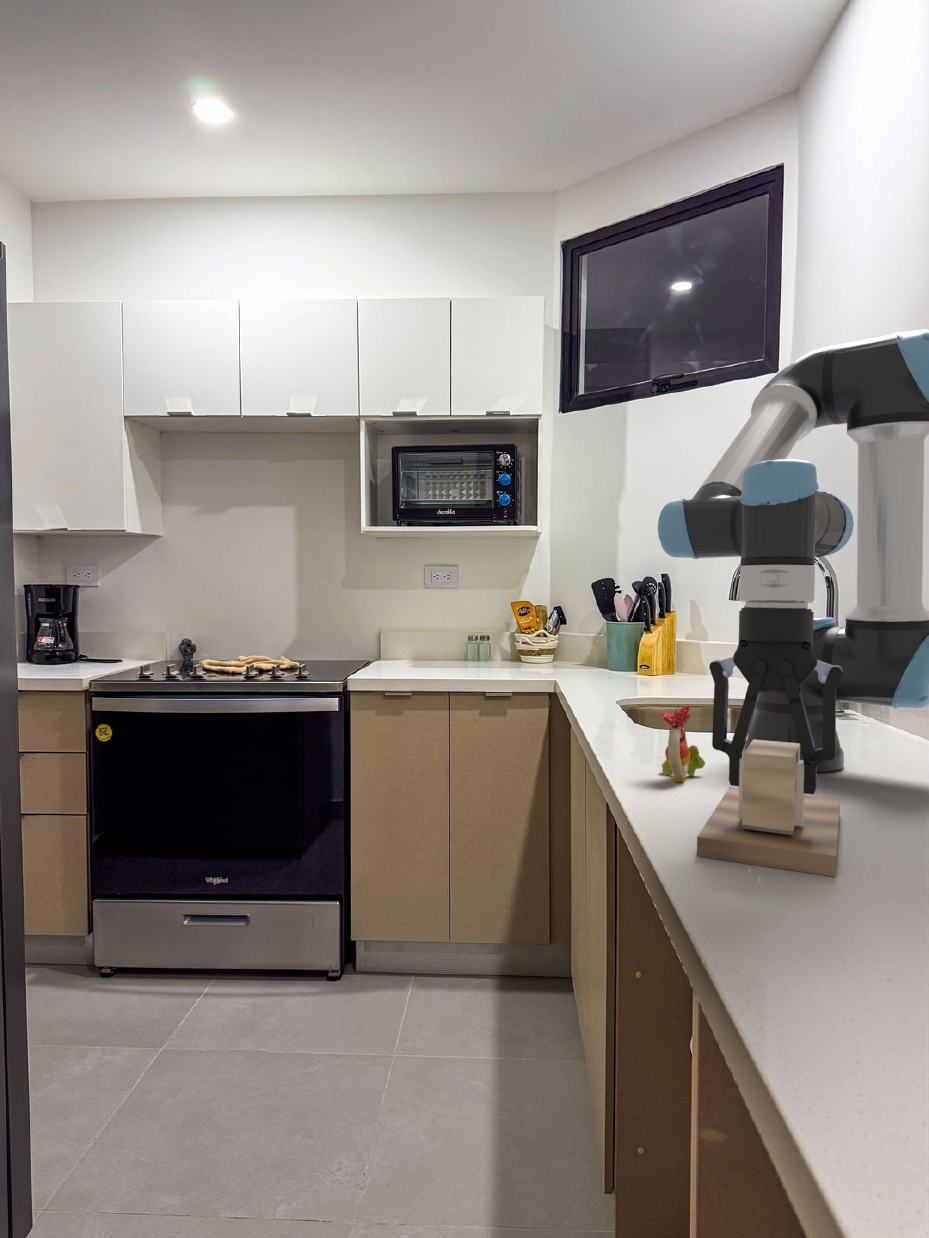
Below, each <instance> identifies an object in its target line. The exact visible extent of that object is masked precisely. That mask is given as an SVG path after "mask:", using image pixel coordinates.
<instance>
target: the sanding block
mask: <svg viewBox="0 0 929 1238" xmlns="http://www.w3.org/2000/svg"><path fill="white" fill-rule="evenodd" d="M742 755H743V795H742V828H743V829H750V830H758V831H765V832H773V833H781V834H788V835H793V833H794V829H795V803H796V764H797V762H798V760H800V743H789V742H777V741H765V740H753V741H752V742H751V743H750V745H749V746H748V747H747V749H746V750H745V751H744V753H743V752H742Z"/></svg>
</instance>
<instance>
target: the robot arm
mask: <svg viewBox="0 0 929 1238" xmlns="http://www.w3.org/2000/svg"><path fill="white" fill-rule="evenodd" d="M750 409H751V410H750V417H749V418H748V420H747V421H746V422H745V424H744V426H743V427H742V428H741V429H740V431H739V432H738V433H737V435H736V437H735V438H734V439H733V441H732V442H731V444H730V445H729V446H728V448H727V449H726V450H725V452H724V453H723V455H722V456H721V457H720V459H719V460H718V462H717V463H716V464H715V466H713V469H711V472H710V473H709V474H708V476H707V477H706V479H705V480H704V482H703V483H702V485H701V486H700V487H699V489H698V490H697V492H695V494H694V495H693V497H692V498H691V499H685V498H681V499H680V500H674V501H670V502H668V503H666V504H665V505H664V506H663V508H662V509H661V511H660V512H659V517H658V522H657V534H658V535H657V536H658V540H659V542H660V546H661V549H662V550H663V551H664V553H666V554H667V555H668V556H669V557H672V558H681V559H683V558H685V559H691V558H692V559H694V560H698V559H709V558H735V557H736V558H737V557H740V562H739V563H740V568H739V569H740V570H739V572H740V573H739V574H740V575H739V599H738V600H739V601H740V602H742V603H744V604H745V605H744V604H743V605H744V607H741V609H740V610H739V611H738V645H737V648H736V650H735V651H734V653H733V656H732V657H728V658H725V659H722V660H721V659H715V660H714V661H712V662H710V664H709V666H708V669H709V670H710V675H711V677H712V680H713V683H714V686H713V687H714V688H713V711H712V713H713V714H712V717H713V718H712V734H711V735H712V737H711V739H712V740H711V747H712V748H713V749H714V750H715V751H719V752H722V753H725V754H726V755H727V756H728V759H729V760H728V762H729V763H728V782H729V784H730V785H729V786H730V787H732V786H734V787H738V788H739V809H738V818H740V819H742V795H743V753H744V751H745V750H746V749H747V747H748V746H749V745H750V743H751V742H752V741H753V740H765V741H777V742H789V743H800V760H798V762H797V764H796V803H795V826H803V822H804V800H805V795H814V794H815V792H816V790H817V775H818V774H817V773H821V772H822V773H823V772H825V773H826V772H827V773H828V772H834V771H838V770H841V769H844V765H845V764H844V763H845V753H844V750H843V748H842V747H841V744H840V740H839V735H838V732H837V702H839V703H850V704H851V703H852V704H864V705H872V706H873V705H874V706H883V707H885V706H886V707H892V708H893V709H899V708H905V709H906V708H907V709H909V708H910V709H921V708H925V707H927V706H929V610H928V609H926V607H924V604H923V572H924V571H923V567H924V565H923V563H924V562H923V561H924V560H923V559H924V554H923V553H924V549H923V548H924V500H925V499H924V498H925V497H924V494H925V493H924V491H925V489H924V487H925V485H924V484H925V481H924V480H925V440H926V438H927V436H928V435H929V330H928V329H920V330H919V329H918V330H910V331H905V332H903V331H902V332H901V331H897V332H895V333H892V334H887V335H881V336H878V337H877V336H875V337H872V338H867V339H861V340H857V341H853V342H848V343H843V344H842V343H841V344H838V345H829V346H826V347H825V346H824V347H821V348H818V349H815V350H812V351H811V352H809V353H807V354H804V355H802V356H801V357H799V358H798V359H796V360H794V361H793V362H791V363H790V364H788V365H787V366H786V367H784V368H783V369H781V370H780V372H777V374H776V375H774V376H773V377H772V378H771V379H770V380H769V381H768V382H767V383H766V384H765V385H764V387H763V388H762V389H761V390H760V391H759V392H758V394H757V395H756V397H755V398H754V399H753V402H752V405H751V408H750ZM842 424H843V425H844V424H846V435H847V436H848V437H849V438H851V440H852V441H854V442H855V443H856V445H857V526H856V527H857V529H856V530H857V536H856V539H857V540H856V543H857V544H856V546H857V552H856V554H857V556H856V557H857V558H856V560H857V561H856V563H857V564H856V572H857V573H856V605H855V607H854V608H853V609H852V610H850V611H849V613H847V614H846V616H845V626H837V622H836V620H835V618H834V617H829V616H828V617H818V618H814V611H812V608H808V606H809V605H808V604H812V603H813V602H814V600H815V577H816V576H815V573H816V566H815V565H816V564H815V559H816V558H822V557H826V556H831V555H833V554H835V553H837V552H839V551H840V550H842V548H844V547H845V546H846V545H847V544H848V542H849V541H850V539H851V537H852V534H853V530H854V525H855V523H854V517H853V514H852V511H851V509H850V507H848V505H847V504H846V503H845V502H844V501H842V500H841V499H840V498H839V497H837V496H835V495H833V493H828V492H826V491H820V490H819V488H820V486H819V483H818V479H817V477H818V476H817V475H818V474H817V468H816V466H815V464H813V463H812V462H810V461H808V460H804V459H788V456H789V455H790V453H791V451H792V449H794V446H795V445H796V443H797V442H798V441H801V440H803V439H804V438H805V437H808V435H809V434H810V433H811V432H812V431H813V430H814V429H817V428H821V427H826V426H832V425H842ZM734 667H737V669H738V671H739V672H740V673H741V674H742V676H743V677H744V678H745V680H746V681H747V683H748V686H747V689H746V692H745V697H744V701H743V704H742V707H741V709H740V710H741V711H740V713H739V717H738V720H737V723H736V726H735V730H734V734H733V737H732V738H731V739H732V741H731V740H730V739H728V717H729V715H728V714H729V713H728V711H729V689H730V688H729V684H730V683H729V678H731V677H732V676H733V673H734V671H733V670H734Z"/></svg>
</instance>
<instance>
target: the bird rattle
mask: <svg viewBox="0 0 929 1238" xmlns="http://www.w3.org/2000/svg"><path fill="white" fill-rule="evenodd" d="M690 710H691V705H689V704H687V705H684V706H683V707H681V708H677V709H675V710H674V712H673V715H672V714H671V713H669V712H667V711H665V710H664V711H663V712H662V713H661V715H660V716H661V718H662V719H663V720H664V721H665V722H666V723H667V724H669V726H670V728H669V731H668V732H669V733H668V741H667V746H666V748H665V759H664V761H663V762H662V764H661V769H662V773H663V775H665V776H672V775H673V780H674V782H676V783H684V782H685V780H686V777H687V775H688V776H689V777H694V776H695V772H696V771H697V769H703V768H704V767H705V765H706V762H705V760H704V758H703V757H701V755H700V751H699V748H698V747H697V746H696V745H693V744H692V745H690V746H688V741H687V735H686V734H687V733H686V729H685V727H684V726H685V725H686V724H687V723H688V721H689V719H690V717H691V716H690V715H691V714H690V713H689V712H690Z"/></svg>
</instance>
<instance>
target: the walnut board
mask: <svg viewBox="0 0 929 1238" xmlns="http://www.w3.org/2000/svg"><path fill="white" fill-rule="evenodd" d="M840 808H841V798H833V797H826V796H825V797H824V796H815V795H808V794H805V800H804V822H803V826H795V829H794V833H793V835H788V834H781V833H773V832H765V831H758V830H750V829H743V828H742V819H740V818H738V809H739V787H735V786H734V787H732V786H729V787H728V789H727V790H726V791H725V793H724V795H723V797H722V798H721V799H720V801H719V803H718V804H717V806H716V807H715V809H714V810H713V812H712V813H711V815H710V817H709V818H708V820H707V821H706V822H705V824H704V826H703V828H702V829H701V830H700V832H699V833H698V835H697V837H696V857H699V858H708V859H713V860H720V861H726V862H733V863H741V864H747V865H754V866H761V867H768V868H774V869H780V870H786V871H787V870H788V871H795V872H802V873H806V874H807V873H808V874H814V875H822V876H829V877H835V878H836V877H837V864H838V862H837V860H838V845H839V832H840V830H839V829H840V812H841V811H840V810H841V809H840Z"/></svg>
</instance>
